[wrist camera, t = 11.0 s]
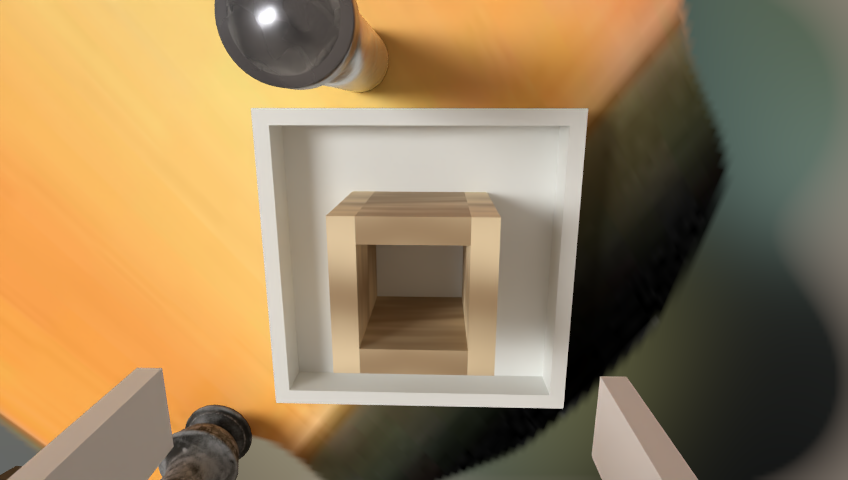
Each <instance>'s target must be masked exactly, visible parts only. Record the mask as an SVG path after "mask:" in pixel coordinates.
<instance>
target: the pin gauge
mask: <svg viewBox="0 0 848 480" xmlns="http://www.w3.org/2000/svg"><path fill="white" fill-rule="evenodd" d="M215 19H216V25H217V29H218V33H219V36H220V38H221V41H222V43H223V45H224V47H225V49H226V51H227V52H228V54H229V55H230V56H231V58H232V59H233V61H234V62H235V63H236V64H237V65H238V66H239V67H240V68H241V69H242V70H243V71H244V72H246V73H247V74H248V75H250V76H251V77H253V78H254V79H256V80H258V81H260V82H263V83H265V84H268V85H271V86H276V87H282V88H288V89H297V90H304V89H312V88H316V87H319V86H322V85H324V86H329V87H333V88H338V89H342V90H347V91H351V92H366V91H369V90H371V89H373V88H374V87H376V86H377V85H378V84H379V83H380V82H381V81H382V80H383V78H384V77H385V74H386V72H387V69H388V61H389V59H388V52H387V49H386V46H385V44H384V42H383V41H382V39H381V38H380V37H379V36H378V34H377V33H376V32H375V31H374V30H373V29H372V27H371V26H370V25H369V24H368V23H367V22H366V20H365V19H364V18H363V17H362V16H361V15H360V13H359V11H358V6H357V3H356V0H215Z"/></svg>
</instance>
